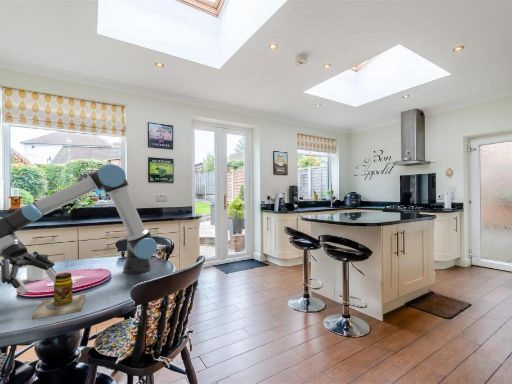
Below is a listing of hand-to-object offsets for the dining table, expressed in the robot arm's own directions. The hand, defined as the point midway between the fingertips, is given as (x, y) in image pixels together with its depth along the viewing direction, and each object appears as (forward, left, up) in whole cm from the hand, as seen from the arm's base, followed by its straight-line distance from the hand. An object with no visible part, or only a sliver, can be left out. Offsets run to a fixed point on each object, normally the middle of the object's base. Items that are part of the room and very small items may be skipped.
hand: (42, 286), depth 107 cm
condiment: (-7, +5, -7) cm, 11 cm away
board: (-7, +5, -8) cm, 12 cm away
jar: (+10, -41, -8) cm, 43 cm away
